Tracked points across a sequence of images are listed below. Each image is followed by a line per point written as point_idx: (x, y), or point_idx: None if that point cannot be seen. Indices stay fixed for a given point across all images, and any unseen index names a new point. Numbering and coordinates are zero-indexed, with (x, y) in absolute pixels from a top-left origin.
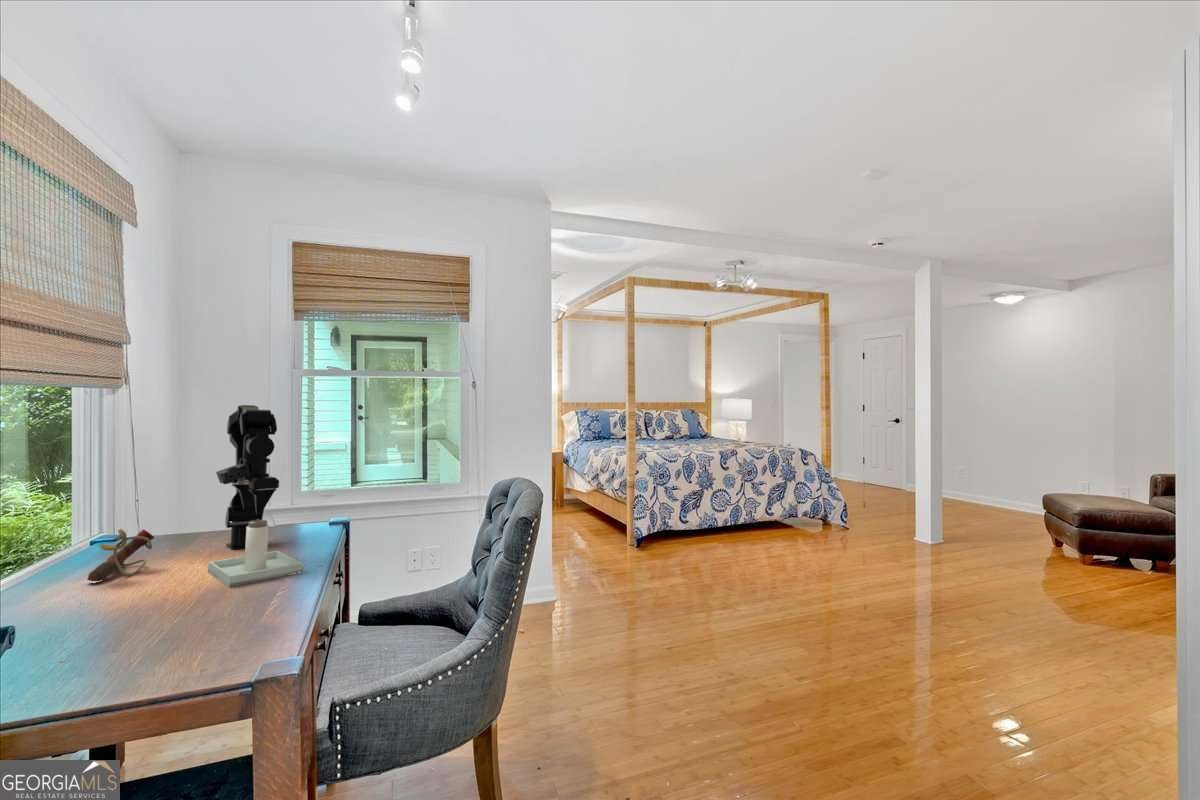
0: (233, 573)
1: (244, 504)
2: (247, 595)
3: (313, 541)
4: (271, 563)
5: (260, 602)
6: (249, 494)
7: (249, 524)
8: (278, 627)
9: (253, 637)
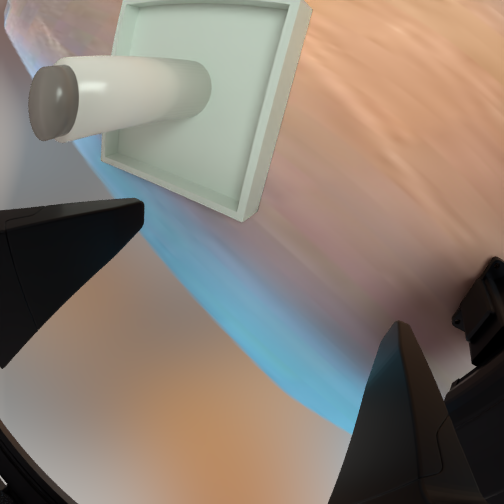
0: (195, 31)
1: (394, 353)
2: (92, 19)
3: (335, 392)
4: (201, 151)
5: (65, 28)
6: (362, 469)
7: (49, 66)
8: (25, 27)
9: (27, 4)
